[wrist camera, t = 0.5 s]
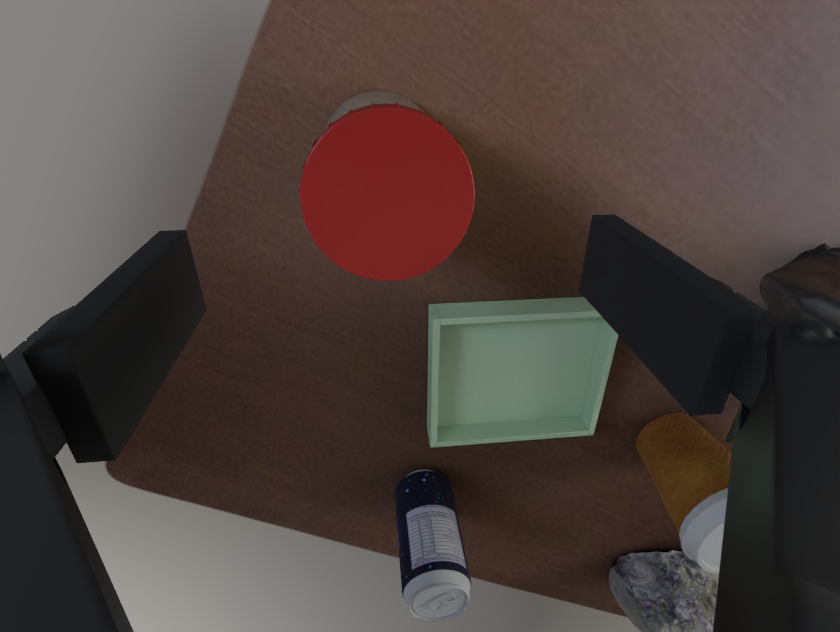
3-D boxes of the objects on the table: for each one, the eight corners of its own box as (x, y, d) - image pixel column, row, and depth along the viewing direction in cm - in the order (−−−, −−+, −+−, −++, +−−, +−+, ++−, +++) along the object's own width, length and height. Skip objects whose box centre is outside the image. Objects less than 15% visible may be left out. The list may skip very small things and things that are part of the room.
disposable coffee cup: (614, 474, 50) (680, 585, 40) (627, 405, 45) (706, 511, 35) (699, 463, 51) (786, 569, 40) (721, 393, 46) (826, 493, 36)
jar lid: (312, 271, 25) (309, 285, 24) (292, 102, 21) (287, 106, 20) (464, 265, 26) (470, 278, 25) (473, 101, 22) (481, 105, 20)
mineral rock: (721, 550, 60) (783, 635, 51) (661, 596, 64) (709, 683, 55) (652, 523, 55) (706, 612, 47) (592, 575, 59) (632, 666, 51)
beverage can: (382, 484, 47) (388, 607, 37) (426, 454, 46) (446, 573, 35) (417, 510, 50) (432, 632, 39) (460, 483, 48) (488, 602, 38)
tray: (426, 428, 44) (430, 448, 42) (428, 303, 38) (432, 319, 35) (582, 417, 46) (593, 435, 43) (610, 295, 39) (625, 309, 37)
